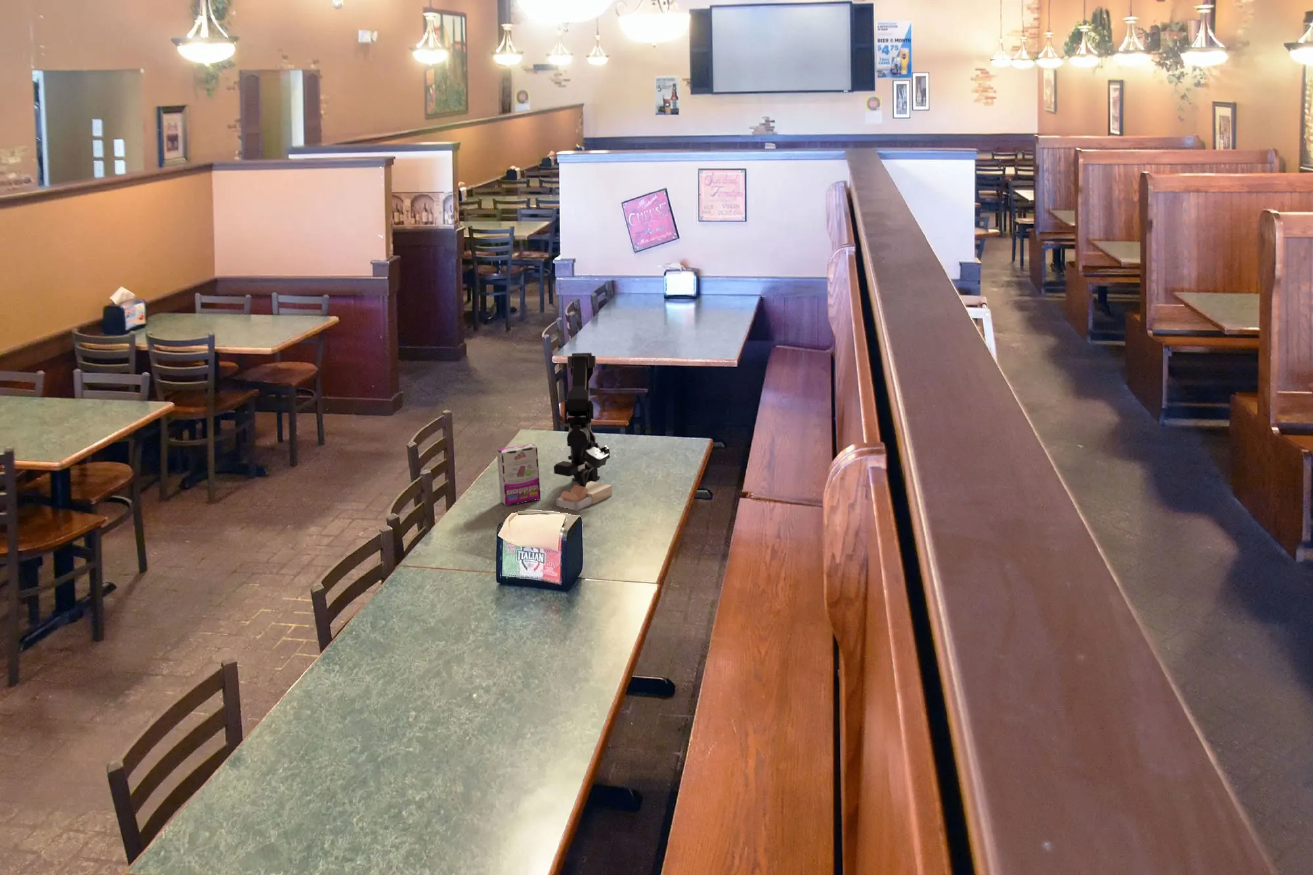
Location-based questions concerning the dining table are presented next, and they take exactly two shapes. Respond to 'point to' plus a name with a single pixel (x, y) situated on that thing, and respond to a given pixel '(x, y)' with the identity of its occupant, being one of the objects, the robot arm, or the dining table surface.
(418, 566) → the dining table surface
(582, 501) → the tray
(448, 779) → the dining table surface
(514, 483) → the candy bar box
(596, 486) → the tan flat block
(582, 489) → the tile rear
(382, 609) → the dining table surface
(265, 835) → the dining table surface
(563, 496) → the tile front
